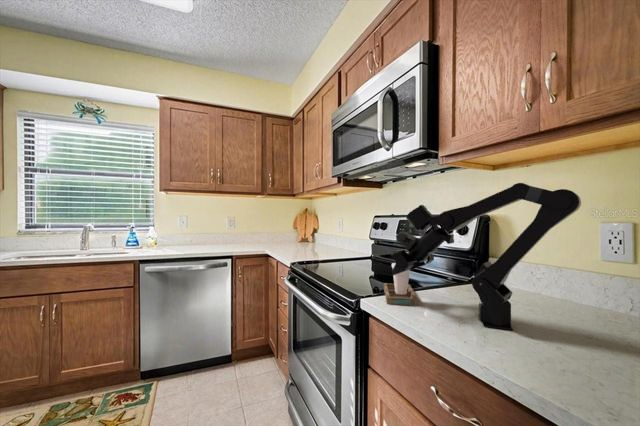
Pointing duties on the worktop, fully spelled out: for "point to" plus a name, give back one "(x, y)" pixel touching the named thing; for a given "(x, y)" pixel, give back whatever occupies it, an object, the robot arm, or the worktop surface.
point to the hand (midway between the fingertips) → (397, 272)
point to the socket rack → (398, 299)
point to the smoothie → (401, 281)
